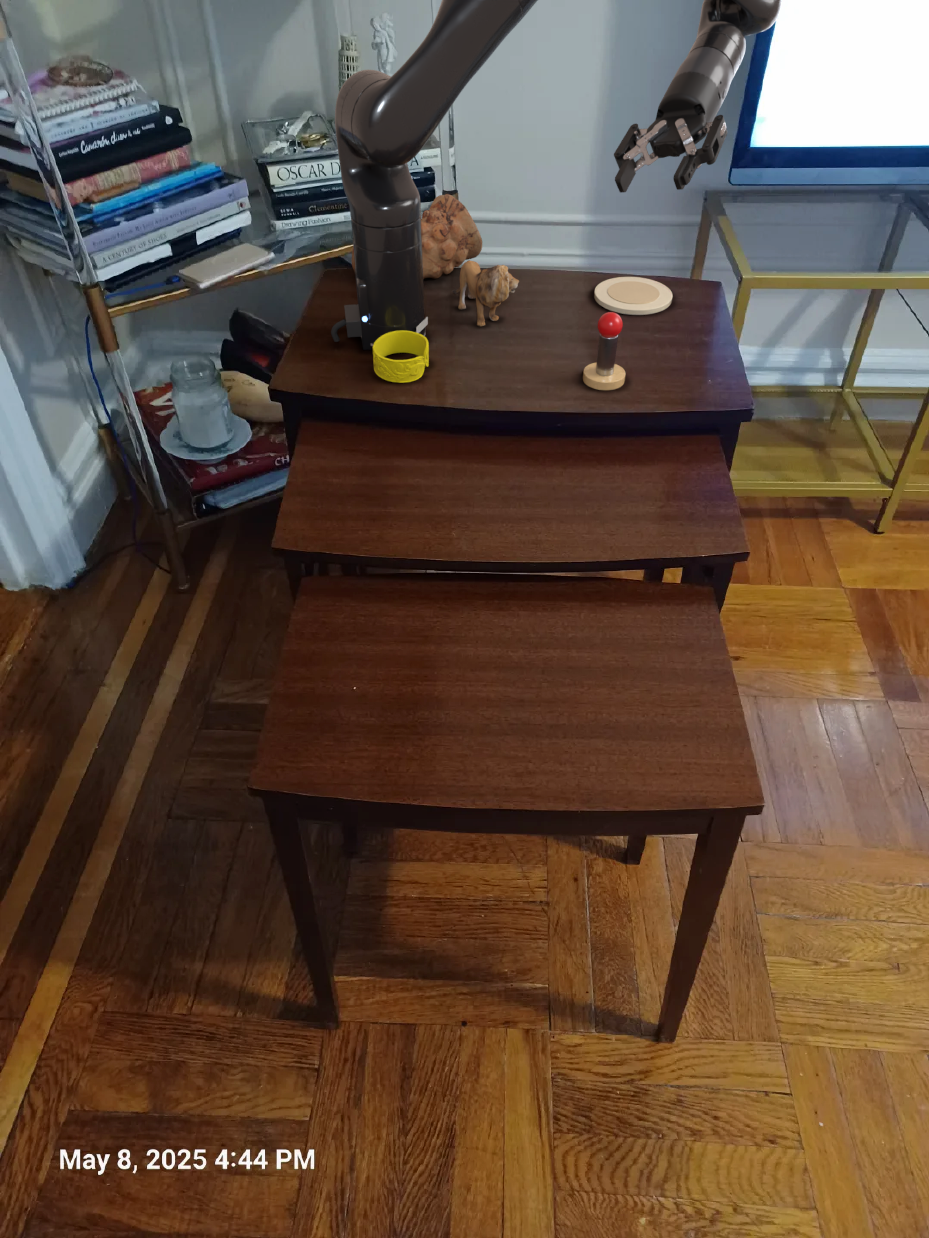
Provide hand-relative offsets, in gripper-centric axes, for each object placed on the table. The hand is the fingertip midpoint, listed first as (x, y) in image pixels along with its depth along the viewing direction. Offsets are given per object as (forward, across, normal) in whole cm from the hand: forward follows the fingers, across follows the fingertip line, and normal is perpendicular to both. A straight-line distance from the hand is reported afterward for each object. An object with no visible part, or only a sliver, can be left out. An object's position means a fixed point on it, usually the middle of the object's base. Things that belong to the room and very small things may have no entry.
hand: (648, 186), depth 117 cm
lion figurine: (+16, -24, +8) cm, 30 cm away
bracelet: (+34, -23, -1) cm, 41 cm away
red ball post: (+24, 0, +10) cm, 26 cm away
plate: (+1, -9, +20) cm, 22 cm away
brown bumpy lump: (+14, -39, +4) cm, 41 cm away
